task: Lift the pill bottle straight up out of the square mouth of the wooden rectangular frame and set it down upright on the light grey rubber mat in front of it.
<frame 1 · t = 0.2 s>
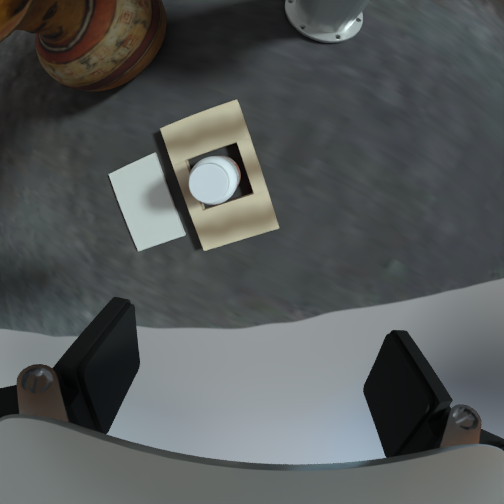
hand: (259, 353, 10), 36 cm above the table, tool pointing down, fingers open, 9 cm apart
wooden rectangular frame: (220, 175, 43), on the table
pill bottle: (221, 175, 43), resting in wooden rectangular frame
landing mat: (146, 203, 45), on the table
ceramic pitcher: (120, 42, 35), on the table
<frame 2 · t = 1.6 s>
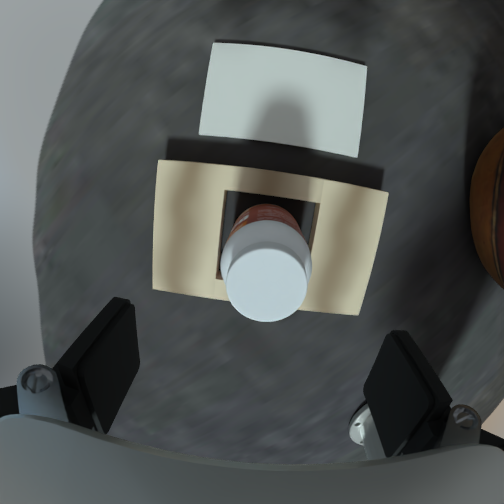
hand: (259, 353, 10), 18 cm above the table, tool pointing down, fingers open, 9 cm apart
wooden rectangular frame: (266, 236, 27), on the table
pill bottle: (266, 235, 27), resting in wooden rectangular frame
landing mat: (285, 95, 23), on the table
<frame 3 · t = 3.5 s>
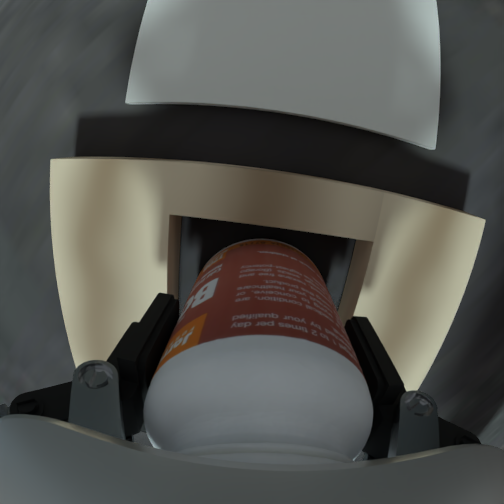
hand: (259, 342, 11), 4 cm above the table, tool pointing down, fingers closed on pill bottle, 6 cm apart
wooden rectangular frame: (260, 297, 14), on the table
pill bottle: (260, 295, 14), resting in wooden rectangular frame, touching gripper
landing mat: (298, 25, 10), on the table
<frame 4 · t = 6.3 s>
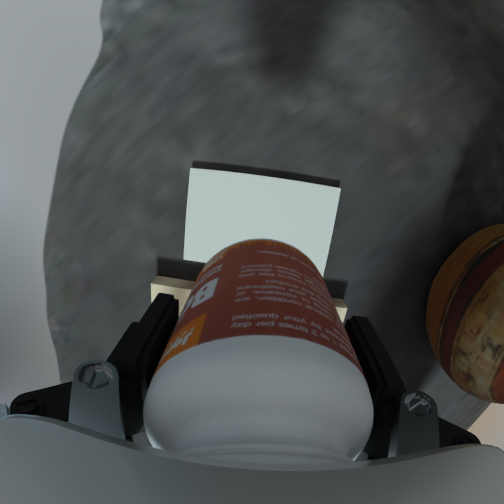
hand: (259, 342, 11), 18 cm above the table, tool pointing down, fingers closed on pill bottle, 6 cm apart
wooden rectangular frame: (243, 335, 32), on the table
pill bottle: (260, 295, 14), point 15 cm above the table, touching gripper
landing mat: (259, 222, 28), on the table
ceramic pitcher: (472, 287, 30), on the table
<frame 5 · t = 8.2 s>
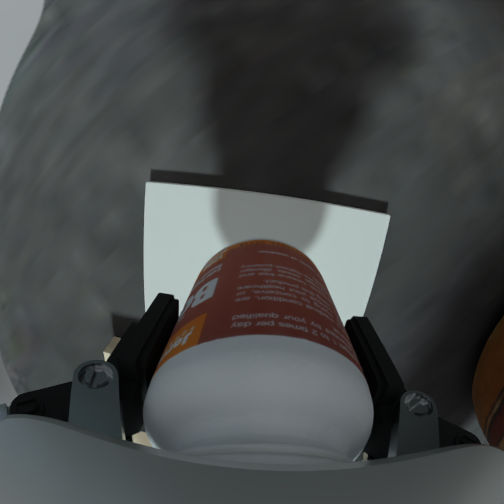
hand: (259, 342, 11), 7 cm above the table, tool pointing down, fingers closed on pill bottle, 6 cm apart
wooden rectangular frame: (238, 412, 22), on the table
pill bottle: (260, 295, 14), point 3 cm above the table, touching gripper
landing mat: (260, 269, 17), on the table
when the fingers open (6 cm above the table, at t = 9.5 s): pill bottle drops 1 cm, resting on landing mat.
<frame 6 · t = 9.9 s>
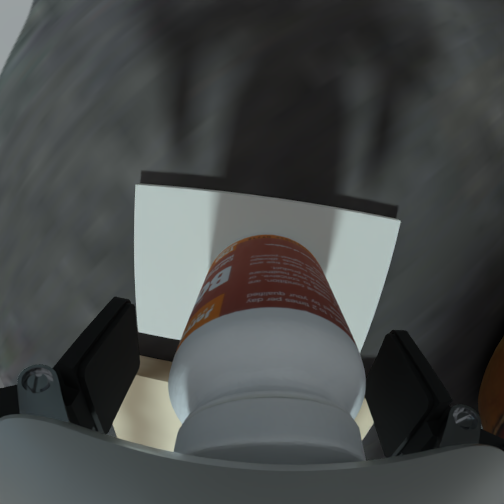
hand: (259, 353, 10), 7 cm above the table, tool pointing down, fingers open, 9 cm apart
wooden rectangular frame: (236, 424, 20), on the table
pill bottle: (265, 285, 16), resting on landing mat
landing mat: (259, 278, 16), on the table
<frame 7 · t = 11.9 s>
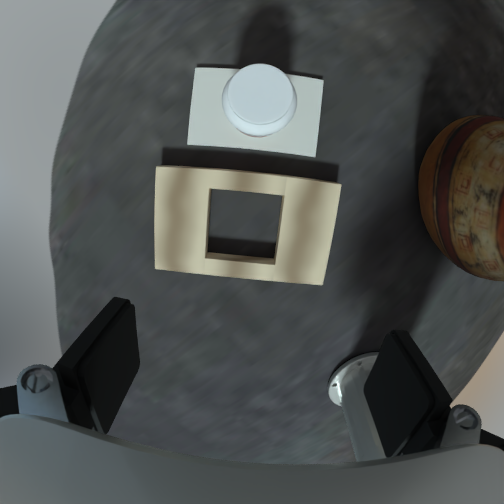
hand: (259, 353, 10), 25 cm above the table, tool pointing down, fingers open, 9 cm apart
wooden rectangular frame: (243, 223, 34), on the table
pill bottle: (258, 110, 29), resting on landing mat
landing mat: (255, 109, 29), on the table
ceramic pitcher: (461, 186, 32), on the table
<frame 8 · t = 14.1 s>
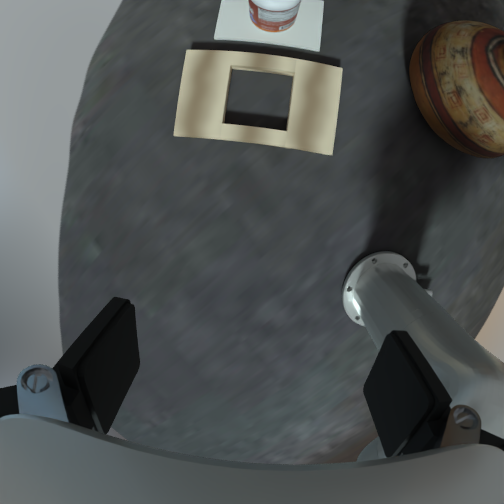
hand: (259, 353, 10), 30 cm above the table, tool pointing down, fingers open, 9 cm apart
wooden rectangular frame: (258, 99, 34), on the table
pill bottle: (272, 17, 29), resting on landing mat
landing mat: (270, 17, 30), on the table
ceramic pitcher: (451, 93, 32), on the table
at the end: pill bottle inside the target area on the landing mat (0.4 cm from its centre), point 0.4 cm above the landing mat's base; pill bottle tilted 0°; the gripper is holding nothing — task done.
